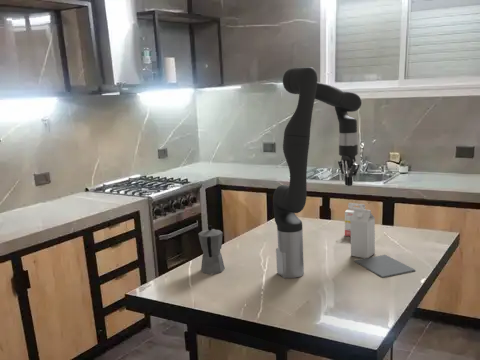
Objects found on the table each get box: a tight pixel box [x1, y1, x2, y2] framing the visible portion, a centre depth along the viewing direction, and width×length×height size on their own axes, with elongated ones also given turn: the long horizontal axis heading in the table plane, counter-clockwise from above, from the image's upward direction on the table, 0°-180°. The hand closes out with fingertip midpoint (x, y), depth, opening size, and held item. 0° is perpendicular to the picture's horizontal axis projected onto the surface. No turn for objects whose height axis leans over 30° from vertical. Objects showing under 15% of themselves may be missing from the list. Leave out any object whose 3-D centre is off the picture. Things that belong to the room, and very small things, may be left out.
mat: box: [354, 254, 416, 278], centre depth 177 cm, size 14×18×1 cm
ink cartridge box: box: [344, 202, 366, 237], centre depth 213 cm, size 9×5×15 cm, turn 58°
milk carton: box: [350, 208, 376, 259], centre depth 188 cm, size 7×7×19 cm
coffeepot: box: [198, 225, 226, 275], centre depth 180 cm, size 15×9×18 cm, turn 179°
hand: (348, 185), depth 194 cm, fingers closed
